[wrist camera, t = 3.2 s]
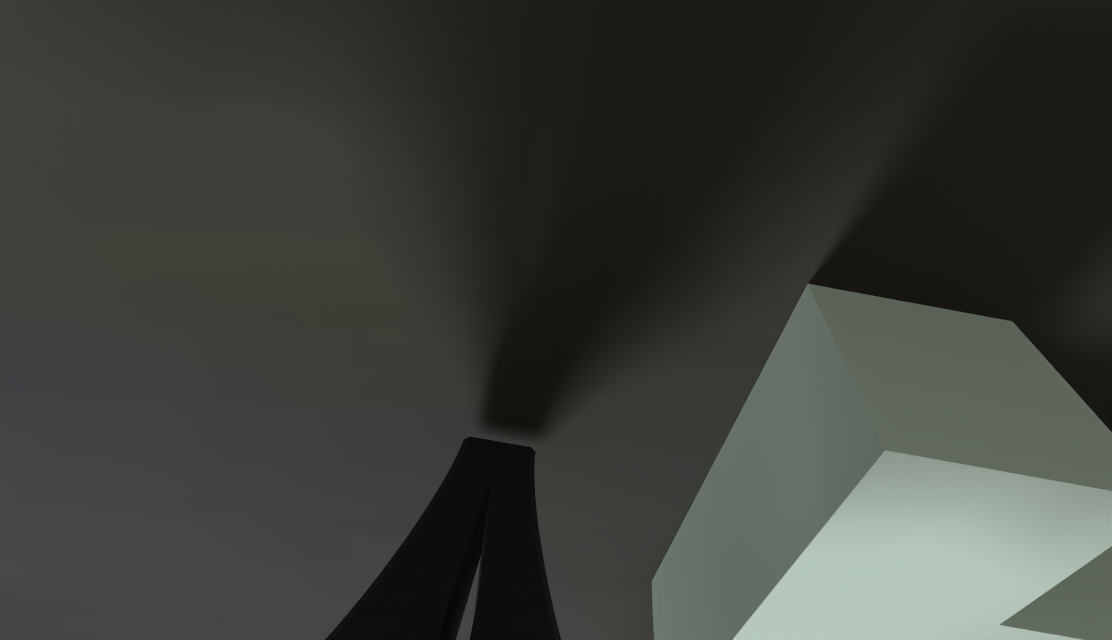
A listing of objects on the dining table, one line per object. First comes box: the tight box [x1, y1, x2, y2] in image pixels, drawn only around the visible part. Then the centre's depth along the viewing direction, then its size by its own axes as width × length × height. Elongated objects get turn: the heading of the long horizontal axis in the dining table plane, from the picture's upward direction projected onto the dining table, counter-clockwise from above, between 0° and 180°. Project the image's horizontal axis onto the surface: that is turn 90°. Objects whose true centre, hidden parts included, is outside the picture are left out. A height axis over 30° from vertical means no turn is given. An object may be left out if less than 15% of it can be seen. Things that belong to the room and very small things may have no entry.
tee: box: [652, 284, 1112, 640], centre depth 11 cm, size 10×10×4 cm
